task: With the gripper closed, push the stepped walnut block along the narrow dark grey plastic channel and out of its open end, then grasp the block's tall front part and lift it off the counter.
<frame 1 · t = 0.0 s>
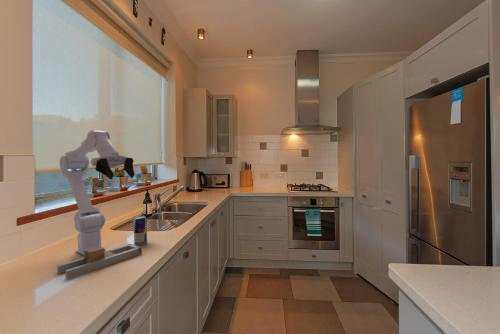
hand: (122, 176, 90), 32 cm above the countertop, tool tilted 50°, fingers open, 7 cm apart
energy drink: (140, 243, 116), on the countertop
channel: (100, 263, 94), on the countertop
block: (100, 255, 94), in the channel
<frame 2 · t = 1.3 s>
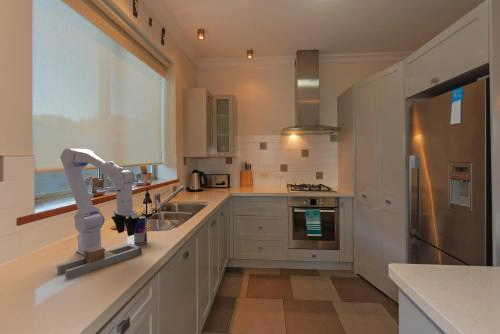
hand: (125, 233, 102), 8 cm above the countertop, tool pointing down, fingers open, 7 cm apart
nothing on the countertop moved.
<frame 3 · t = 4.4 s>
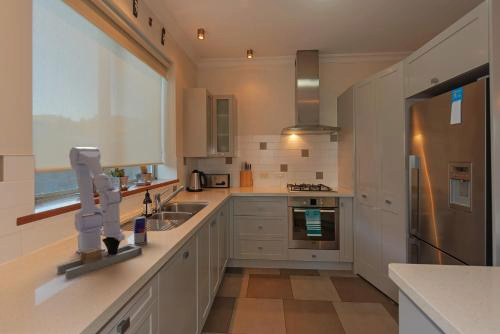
hand: (113, 255, 98), 1 cm above the countertop, tool pointing down, fingers closed, pressing on block
block: (97, 256, 93), in the channel, touching gripper
everything else where it was.
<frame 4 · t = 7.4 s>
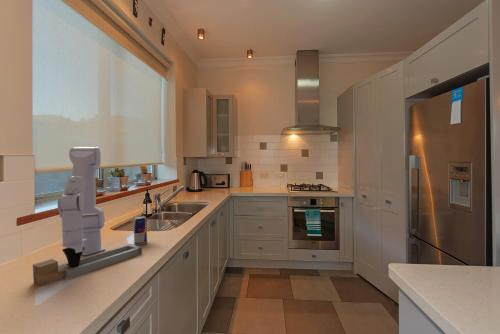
hand: (74, 268, 87), 1 cm above the countertop, tool pointing down, fingers closed
block: (53, 269, 82), on the countertop, touching gripper
everything else where it was.
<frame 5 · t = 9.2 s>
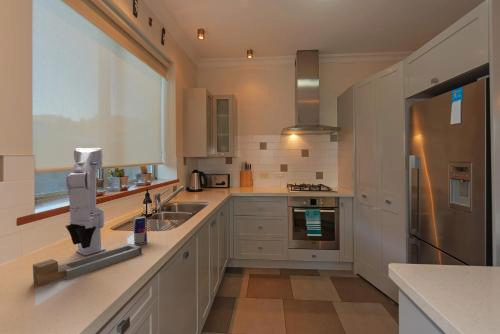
hand: (81, 245, 89), 8 cm above the countertop, tool pointing down, fingers open, 7 cm apart
block: (53, 269, 82), on the countertop
everything else where it was.
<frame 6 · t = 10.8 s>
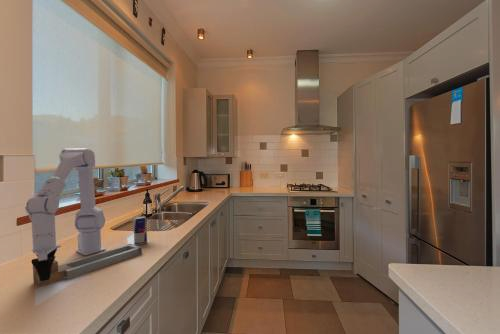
hand: (46, 275, 81), 2 cm above the countertop, tool pointing down, fingers open, 7 cm apart
block: (53, 269, 82), on the countertop, touching gripper
everything else where it was.
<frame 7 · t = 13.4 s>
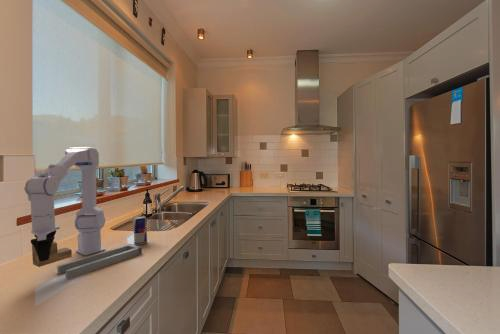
hand: (45, 257, 81), 8 cm above the countertop, tool pointing down, fingers closed on block, 6 cm apart
block: (52, 251, 82), point 9 cm above the countertop, touching gripper
everything else where it was.
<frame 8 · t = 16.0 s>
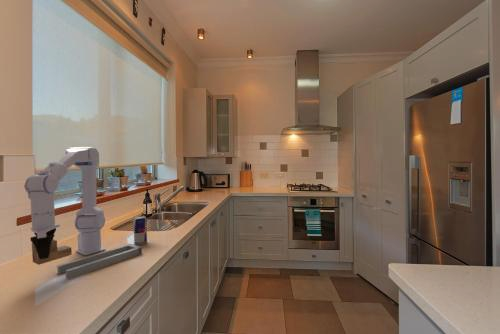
hand: (45, 255, 81), 8 cm above the countertop, tool pointing down, fingers closed on block, 6 cm apart
block: (52, 249, 82), point 10 cm above the countertop, touching gripper
everything else where it was.
at the end: the gripper is holding block; block point 9.7 cm above the countertop; block inside the target area (2.2 cm from its centre), point 9.7 cm above the countertop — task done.
